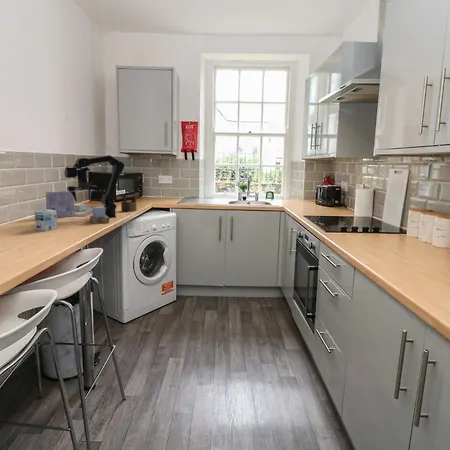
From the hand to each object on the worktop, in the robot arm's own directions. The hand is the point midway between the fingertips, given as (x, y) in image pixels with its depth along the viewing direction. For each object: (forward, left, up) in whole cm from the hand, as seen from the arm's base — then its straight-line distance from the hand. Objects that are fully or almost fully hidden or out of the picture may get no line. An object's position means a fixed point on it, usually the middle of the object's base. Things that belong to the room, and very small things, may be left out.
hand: (83, 201), depth 241 cm
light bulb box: (+26, +24, -12) cm, 37 cm away
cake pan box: (+11, -16, -12) cm, 23 cm away
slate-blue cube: (-6, +14, -8) cm, 17 cm away
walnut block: (-6, +14, -12) cm, 20 cm away
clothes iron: (-41, -26, -12) cm, 50 cm away
